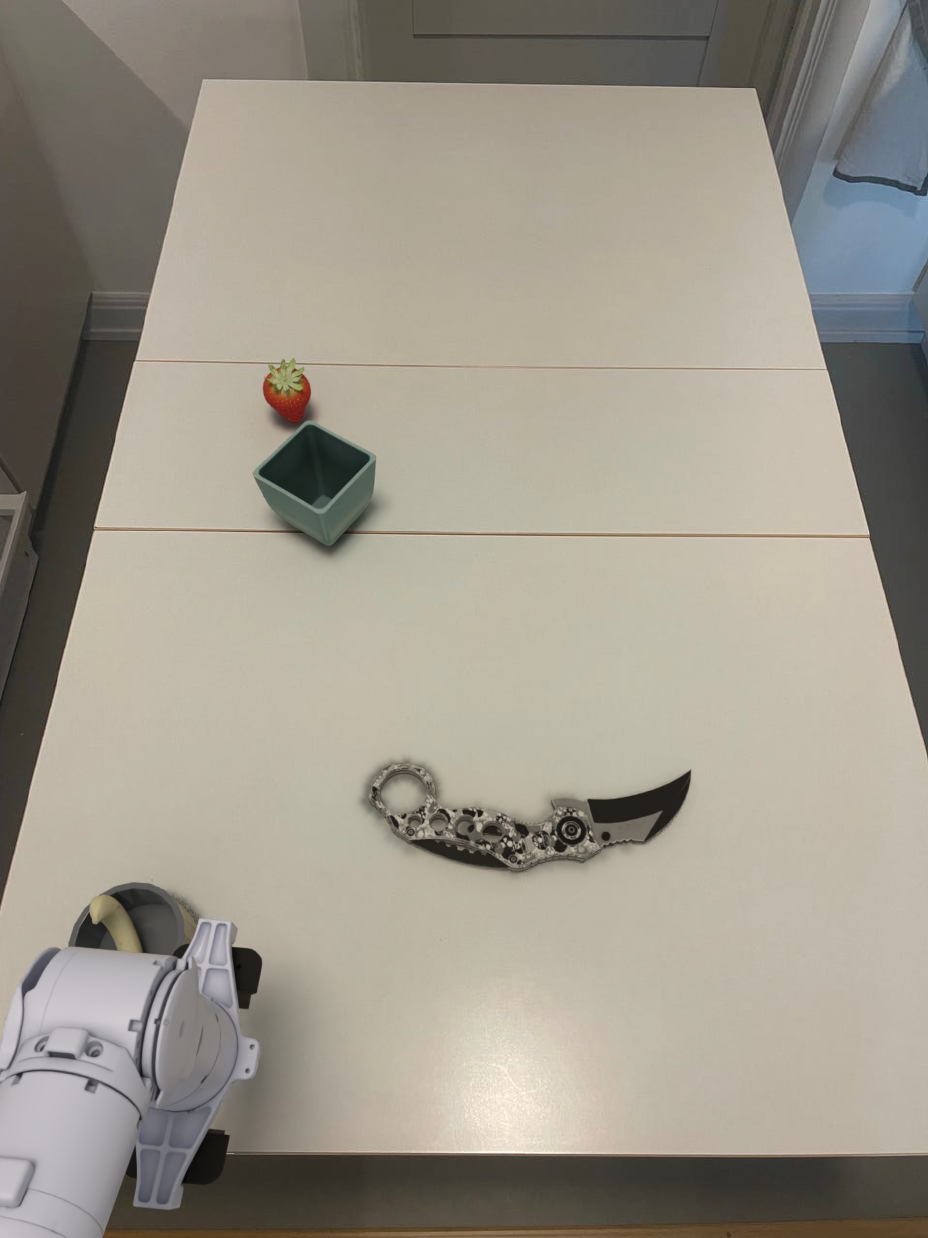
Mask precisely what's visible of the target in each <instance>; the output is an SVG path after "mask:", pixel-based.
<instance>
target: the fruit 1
mask: <svg viewBox="0 0 928 1238" xmlns="http://www.w3.org/2000/svg"><path fill="white" fill-rule="evenodd" d="M99 895H100V894H99ZM89 904H90V916H91V918H92V922H93V924H98V923H99V922H100V921H101V922H102V923H103V924H104V925H105V926H106V927H107V929H108V930H109V932H110V934H111V936H112V938H113V940H114V942H115V945H116V948H117V951H126V952H137V953H143V949H142V945H141V942H140V939H139V936H138V934H137V931H136V929H135V927H134V925H133V922H132V920H131V918H130V917H129V915H128V913H127V912H126V910H125V909H124V907H123V906H122V905H121V904H120V903H119V902H118V901H117V900H116V899H114V898H113V897H111V896H108V895H100V896H98V895H96V896H95V897H93V898H92V899H91V900H90V903H89Z"/></svg>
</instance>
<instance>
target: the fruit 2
mask: <svg viewBox="0 0 928 1238" xmlns="http://www.w3.org/2000/svg"><path fill="white" fill-rule="evenodd" d="M296 364H297V361H296V359H295V357H293V358H292V359H291V360H289V363H288V364H287V363H286V360H285V359H283V358H282V360H281V361H280V365H279V367H277V368H276V367H275V366H274V365H273V364H267V366H268V369H269V371H270V372H269V373H268V374H267V375H266V376H264V377H263V378H264V380H263V383H262V393H263V397H264V400H265V402H266V403H267V404H268V405H269V406H270V407H271V408H272V409H273V410H275V411H276V412H277V413H278V414H279V415H280V416H281V417H283V418H284V419H285V420H287V421H289V422H292V423H299V422H301V420H302V419H303V418H304V417H303V416H304V414H305V410H306V407H307V406H308V404H309V402H310V400H311V395H312V388H311V384H310V381H309V379H308V378H307V377H306V375H305V374H304V373H303V372H304V371H305V367H300V368H298V369H297V368H296Z"/></svg>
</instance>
